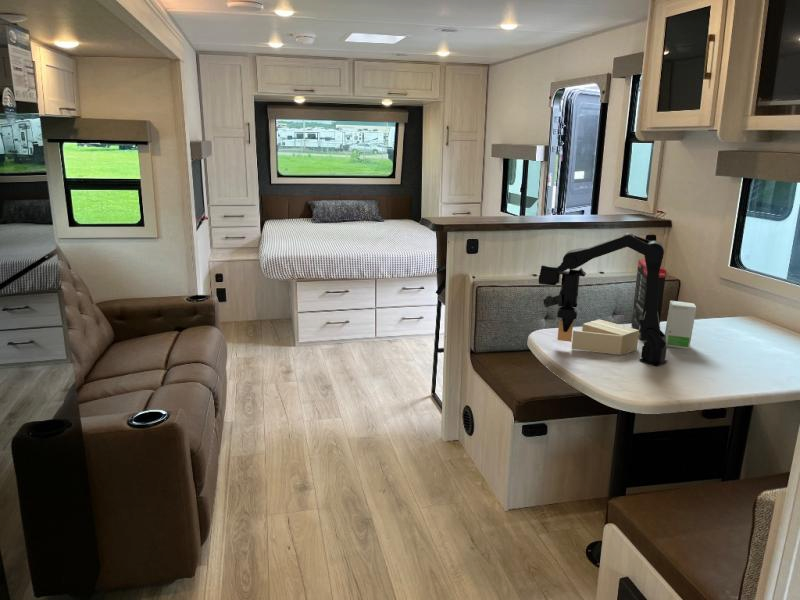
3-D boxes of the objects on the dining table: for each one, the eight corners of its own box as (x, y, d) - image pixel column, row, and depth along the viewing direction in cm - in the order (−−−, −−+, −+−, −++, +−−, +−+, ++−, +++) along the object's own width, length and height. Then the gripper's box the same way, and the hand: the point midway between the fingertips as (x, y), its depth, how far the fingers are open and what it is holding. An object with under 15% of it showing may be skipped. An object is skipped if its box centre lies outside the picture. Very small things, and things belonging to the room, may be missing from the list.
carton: (636, 349, 207) (639, 329, 205) (620, 354, 201) (623, 335, 199) (597, 337, 219) (599, 318, 218) (581, 342, 213) (582, 323, 212)
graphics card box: (658, 342, 215) (668, 268, 208) (639, 340, 217) (648, 267, 209) (647, 328, 232) (656, 259, 225) (629, 326, 233) (637, 258, 226)
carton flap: (620, 353, 201) (623, 326, 199) (620, 354, 201) (623, 327, 198) (556, 346, 208) (559, 320, 205) (556, 347, 207) (559, 320, 204)
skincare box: (664, 346, 211) (670, 304, 207) (663, 341, 217) (668, 300, 213) (690, 349, 208) (697, 307, 204) (688, 343, 214) (694, 302, 210)
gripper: (546, 279, 211) (543, 320, 216) (543, 291, 194) (539, 336, 198) (579, 282, 208) (574, 324, 213) (578, 295, 191) (574, 340, 195)
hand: (565, 331), depth 205 cm, fingers closed
